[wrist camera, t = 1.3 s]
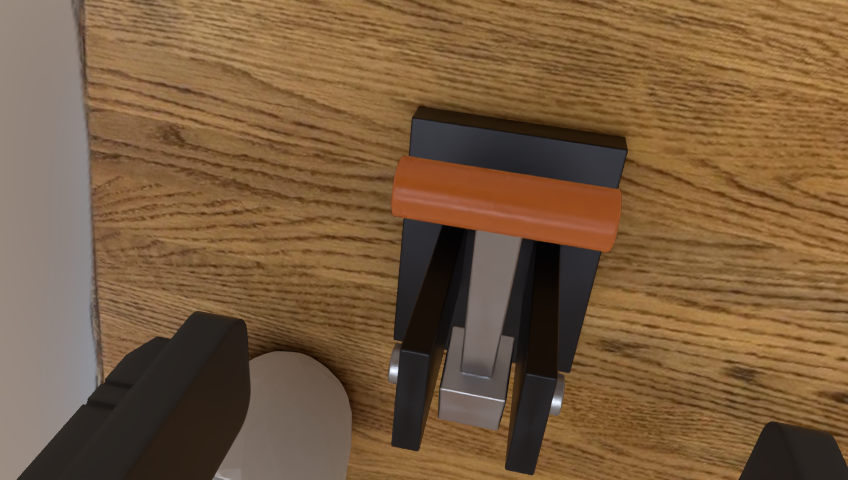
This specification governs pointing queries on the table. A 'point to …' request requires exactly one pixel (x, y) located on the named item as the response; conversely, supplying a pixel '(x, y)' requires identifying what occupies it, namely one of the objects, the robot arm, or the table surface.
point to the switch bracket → (532, 286)
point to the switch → (496, 260)
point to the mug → (291, 423)
